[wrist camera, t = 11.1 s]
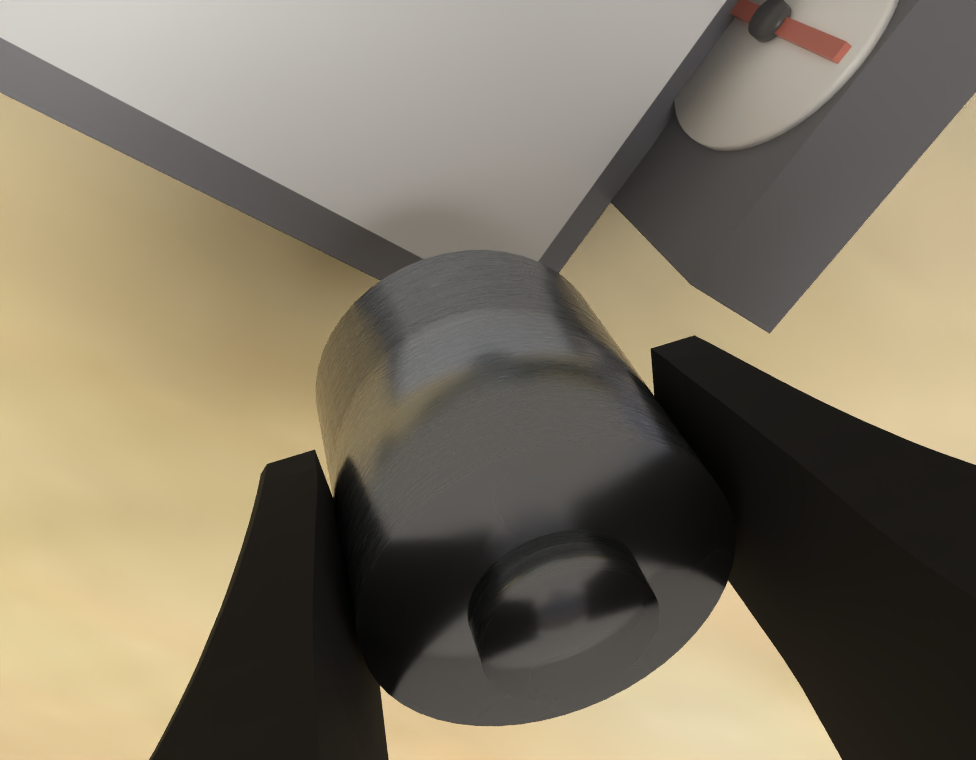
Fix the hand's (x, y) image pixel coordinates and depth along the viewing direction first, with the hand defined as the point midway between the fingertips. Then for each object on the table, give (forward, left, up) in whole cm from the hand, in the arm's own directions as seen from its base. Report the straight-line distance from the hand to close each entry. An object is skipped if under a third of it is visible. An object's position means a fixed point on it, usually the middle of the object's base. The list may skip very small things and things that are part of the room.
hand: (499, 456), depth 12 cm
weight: (0, 0, -2) cm, 2 cm away
